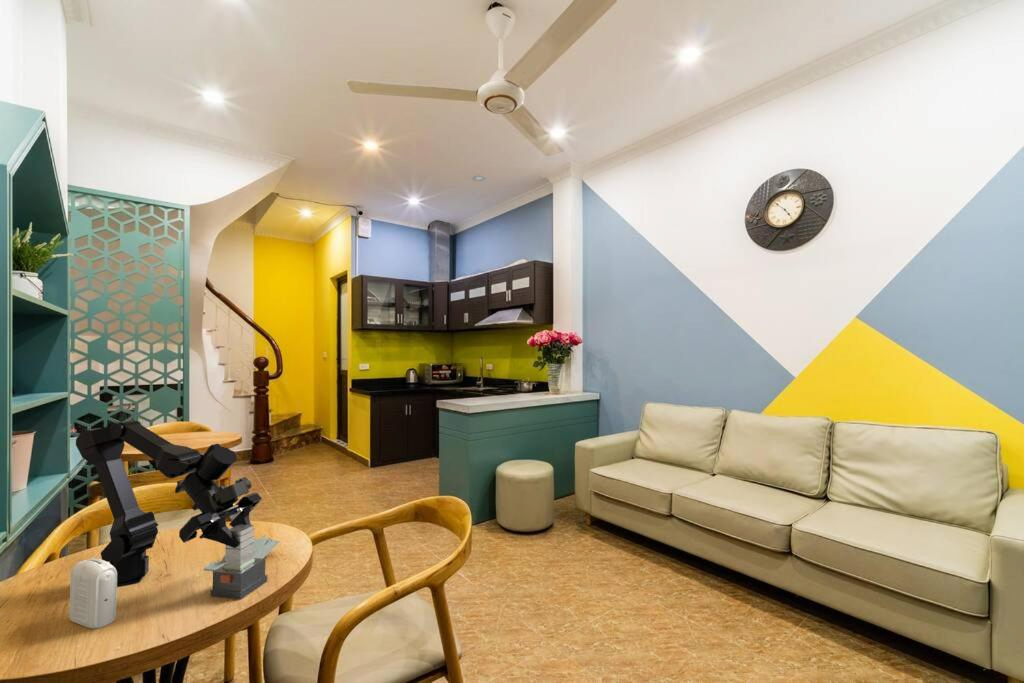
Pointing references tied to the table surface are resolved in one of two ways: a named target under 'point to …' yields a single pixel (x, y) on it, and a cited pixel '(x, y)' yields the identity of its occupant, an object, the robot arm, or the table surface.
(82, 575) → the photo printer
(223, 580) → the collar
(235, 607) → the table surface
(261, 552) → the metal bracket
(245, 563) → the column
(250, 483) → the robot arm
